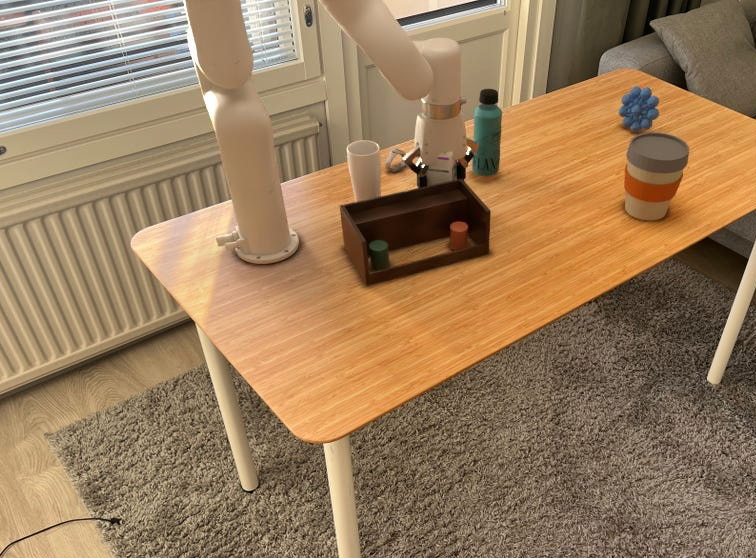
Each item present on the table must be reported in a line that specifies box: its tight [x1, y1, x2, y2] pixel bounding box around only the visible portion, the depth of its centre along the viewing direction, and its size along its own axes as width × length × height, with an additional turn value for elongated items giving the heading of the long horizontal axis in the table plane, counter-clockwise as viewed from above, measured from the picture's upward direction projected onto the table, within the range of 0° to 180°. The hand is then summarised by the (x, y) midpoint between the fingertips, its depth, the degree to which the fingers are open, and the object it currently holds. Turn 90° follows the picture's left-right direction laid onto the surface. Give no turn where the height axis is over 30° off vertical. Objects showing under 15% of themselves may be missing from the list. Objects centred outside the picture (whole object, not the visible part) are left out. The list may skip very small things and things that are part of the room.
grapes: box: [618, 86, 660, 133], centre depth 178 cm, size 12×7×12 cm, turn 42°
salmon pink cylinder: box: [449, 222, 469, 251], centre depth 143 cm, size 4×4×5 cm
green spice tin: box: [369, 240, 390, 272], centre depth 137 cm, size 4×4×5 cm
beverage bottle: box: [471, 88, 503, 177], centre depth 158 cm, size 6×7×20 cm
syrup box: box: [425, 152, 458, 186], centre depth 149 cm, size 6×6×14 cm
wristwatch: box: [384, 147, 407, 173], centre depth 165 cm, size 4×6×5 cm, turn 140°
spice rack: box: [339, 179, 492, 286], centre depth 139 cm, size 26×13×10 cm, turn 115°
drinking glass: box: [346, 139, 382, 202], centre depth 148 cm, size 7×7×15 cm
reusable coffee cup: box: [623, 131, 690, 221], centre depth 150 cm, size 13×13×15 cm
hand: (441, 186), depth 150 cm, fingers closed on syrup box, 8 cm apart
